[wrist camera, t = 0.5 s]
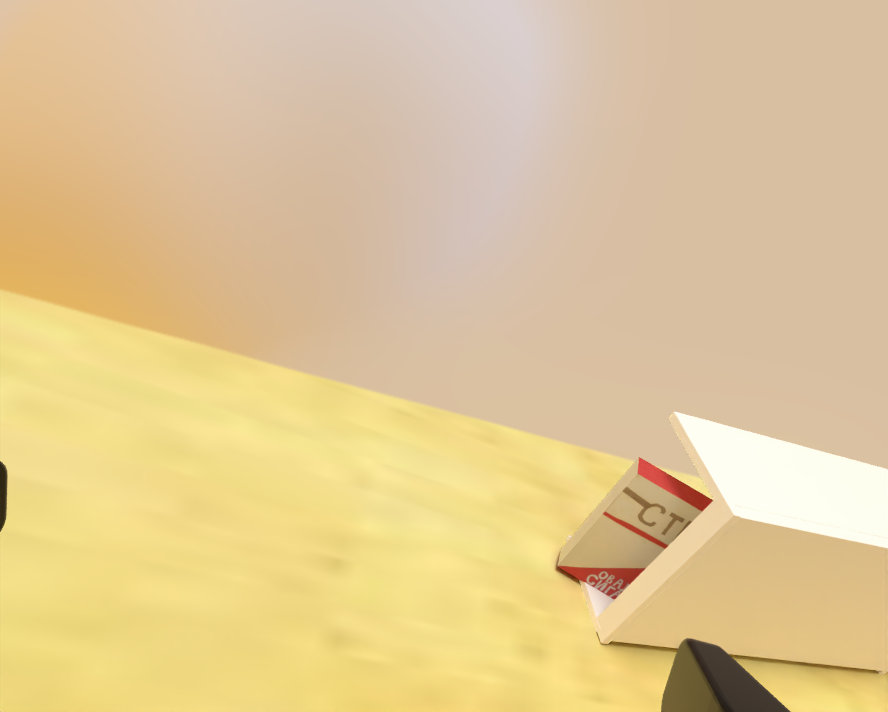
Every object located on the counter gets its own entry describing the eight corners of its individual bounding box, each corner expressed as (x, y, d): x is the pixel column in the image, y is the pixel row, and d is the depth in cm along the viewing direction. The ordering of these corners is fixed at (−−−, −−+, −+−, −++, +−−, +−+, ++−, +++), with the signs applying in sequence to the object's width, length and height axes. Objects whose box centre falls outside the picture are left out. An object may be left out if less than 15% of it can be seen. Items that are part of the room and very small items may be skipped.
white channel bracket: (823, 584, 40) (949, 485, 35) (882, 675, 36) (1035, 578, 31) (542, 536, 33) (650, 404, 28) (574, 643, 29) (707, 509, 24)
